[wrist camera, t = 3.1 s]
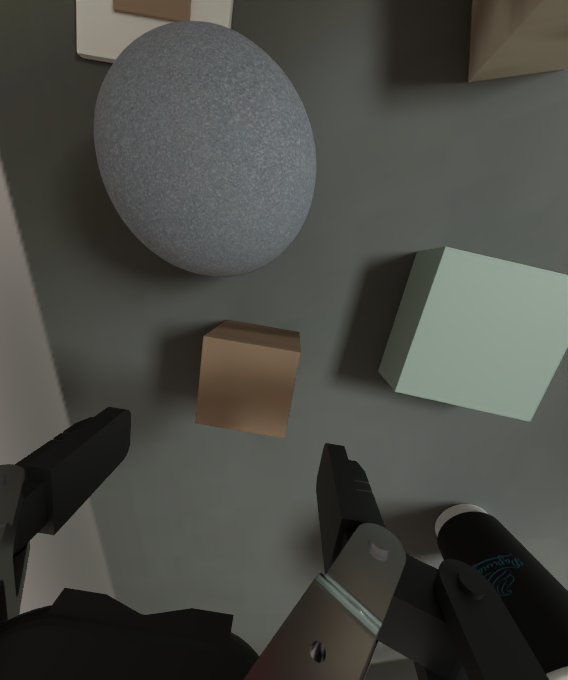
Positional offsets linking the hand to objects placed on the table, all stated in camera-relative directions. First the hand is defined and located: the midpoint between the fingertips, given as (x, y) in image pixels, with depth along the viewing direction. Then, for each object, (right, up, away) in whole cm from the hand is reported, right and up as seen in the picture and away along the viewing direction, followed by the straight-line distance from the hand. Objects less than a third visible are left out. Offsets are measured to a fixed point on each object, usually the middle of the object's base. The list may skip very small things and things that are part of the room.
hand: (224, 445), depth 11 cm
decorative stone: (-1, +14, +8) cm, 16 cm away
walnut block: (0, +3, +10) cm, 11 cm away
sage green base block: (+15, +5, +9) cm, 18 cm away
